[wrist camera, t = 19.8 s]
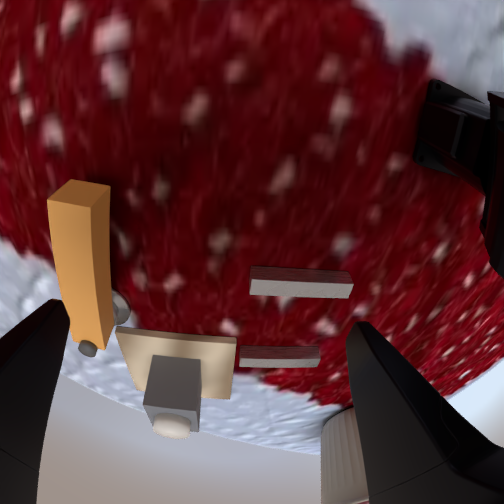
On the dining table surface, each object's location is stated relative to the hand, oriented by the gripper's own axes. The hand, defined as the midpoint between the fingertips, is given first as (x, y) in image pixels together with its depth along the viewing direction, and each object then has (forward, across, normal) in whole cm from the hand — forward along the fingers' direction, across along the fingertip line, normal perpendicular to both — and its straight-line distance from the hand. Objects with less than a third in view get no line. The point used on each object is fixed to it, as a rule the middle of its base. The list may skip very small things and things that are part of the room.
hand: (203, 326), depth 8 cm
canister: (+13, -24, +38) cm, 47 cm away
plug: (+12, +4, +22) cm, 25 cm away
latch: (+10, +10, +7) cm, 16 cm away
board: (+12, +4, +22) cm, 26 cm away
